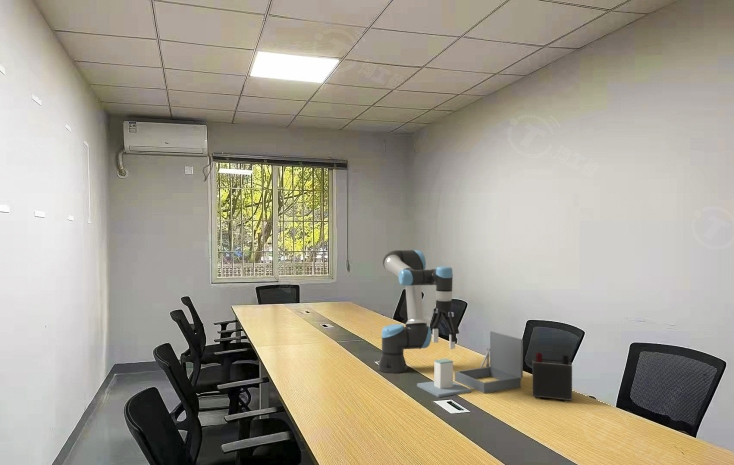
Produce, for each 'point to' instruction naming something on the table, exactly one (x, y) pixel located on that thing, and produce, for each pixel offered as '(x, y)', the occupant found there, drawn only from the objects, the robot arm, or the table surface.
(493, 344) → the case
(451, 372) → the block
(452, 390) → the pad
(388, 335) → the robot arm
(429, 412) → the table surface
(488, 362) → the tow hook
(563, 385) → the voltmeter
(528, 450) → the table surface
